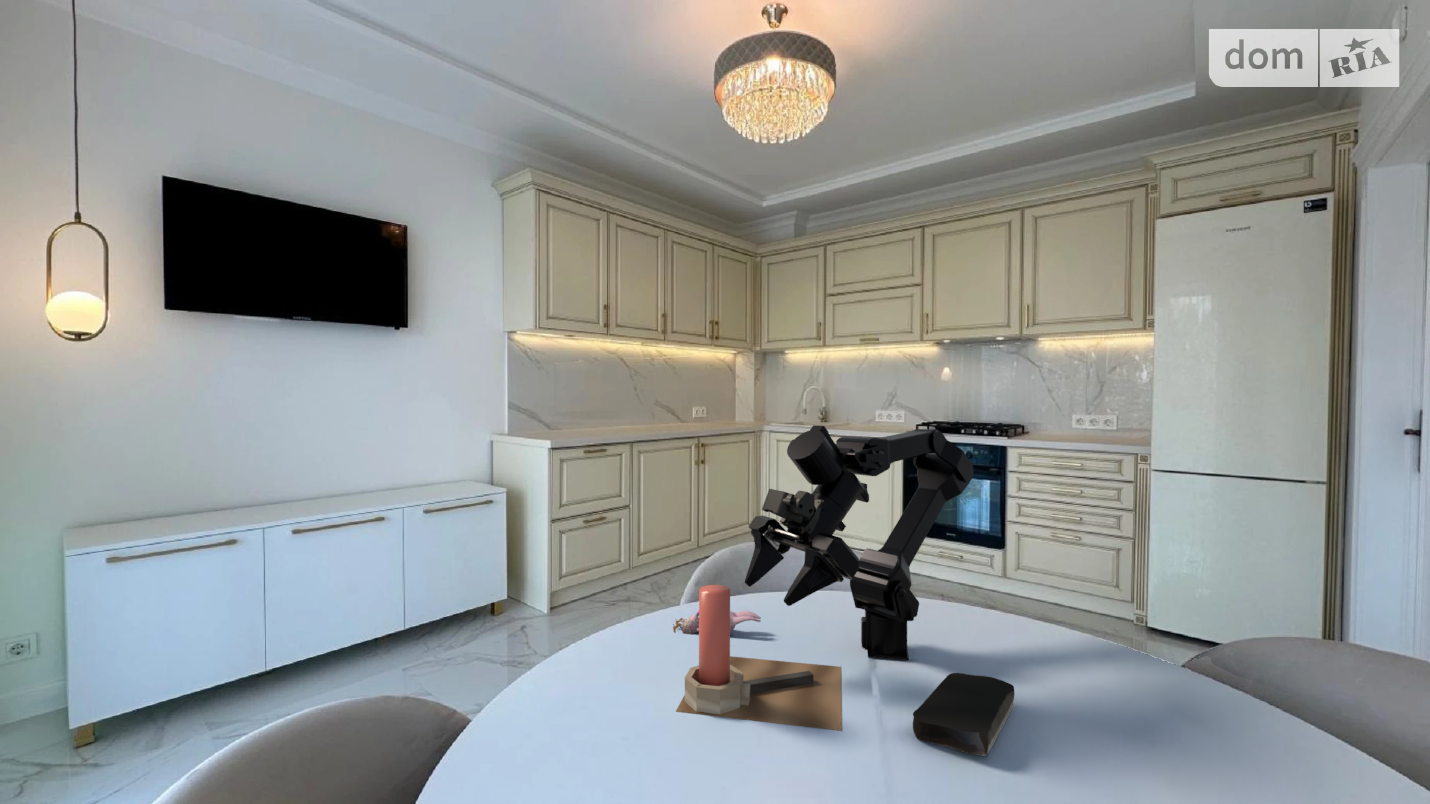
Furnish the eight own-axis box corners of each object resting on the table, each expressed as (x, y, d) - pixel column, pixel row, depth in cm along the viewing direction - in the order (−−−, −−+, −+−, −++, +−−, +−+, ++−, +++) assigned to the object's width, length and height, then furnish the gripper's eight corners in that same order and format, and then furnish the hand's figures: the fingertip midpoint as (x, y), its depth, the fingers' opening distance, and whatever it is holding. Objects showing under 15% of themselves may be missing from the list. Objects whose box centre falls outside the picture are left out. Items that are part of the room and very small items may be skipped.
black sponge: (985, 772, 62) (985, 737, 62) (907, 743, 67) (907, 711, 67) (1018, 710, 75) (1018, 682, 75) (950, 690, 80) (950, 664, 80)
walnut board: (841, 675, 84) (841, 645, 84) (841, 740, 67) (841, 704, 67) (706, 662, 88) (706, 634, 88) (675, 721, 71) (675, 686, 71)
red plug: (732, 693, 76) (732, 586, 76) (726, 708, 72) (727, 595, 72) (702, 689, 77) (703, 583, 77) (695, 704, 73) (695, 593, 73)
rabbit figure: (673, 647, 97) (762, 636, 95) (667, 611, 97) (756, 600, 95) (679, 632, 103) (762, 622, 101) (674, 599, 103) (757, 588, 102)
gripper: (759, 462, 89) (696, 542, 84) (842, 475, 73) (771, 575, 68) (799, 509, 93) (741, 588, 88) (887, 530, 77) (823, 629, 71)
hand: (765, 593), depth 79 cm, fingers open, 9 cm apart
